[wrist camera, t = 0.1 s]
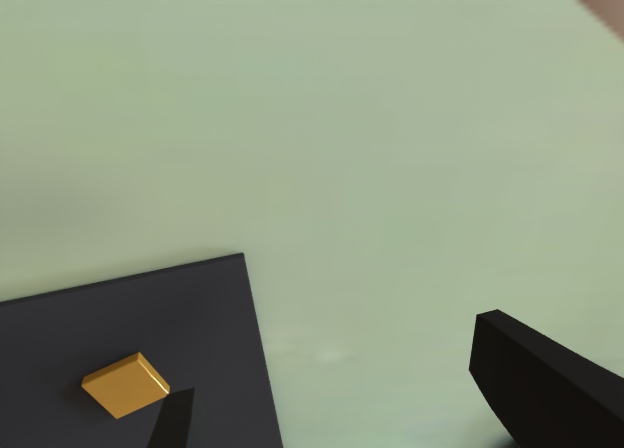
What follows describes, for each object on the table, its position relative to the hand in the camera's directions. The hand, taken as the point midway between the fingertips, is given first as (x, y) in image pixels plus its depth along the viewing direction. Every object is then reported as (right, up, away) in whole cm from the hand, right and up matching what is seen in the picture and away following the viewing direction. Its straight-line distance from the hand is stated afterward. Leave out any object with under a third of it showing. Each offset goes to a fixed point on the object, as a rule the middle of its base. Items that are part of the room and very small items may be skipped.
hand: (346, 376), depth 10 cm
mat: (-10, -7, +12) cm, 17 cm away
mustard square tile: (-10, -4, +11) cm, 15 cm away
